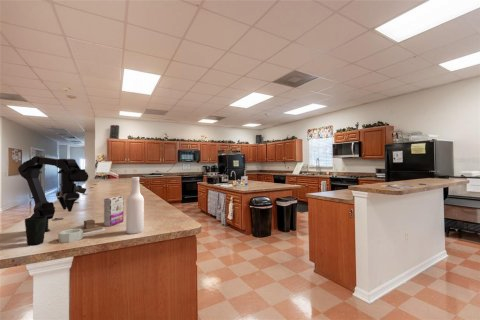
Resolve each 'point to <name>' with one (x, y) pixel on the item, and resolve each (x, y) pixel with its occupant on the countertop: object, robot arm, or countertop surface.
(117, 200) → the candy bar box
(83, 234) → the mat
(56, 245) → the countertop surface
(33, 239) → the cup
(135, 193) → the alcohol
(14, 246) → the countertop surface
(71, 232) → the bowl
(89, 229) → the lid
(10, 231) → the countertop surface
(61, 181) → the robot arm
